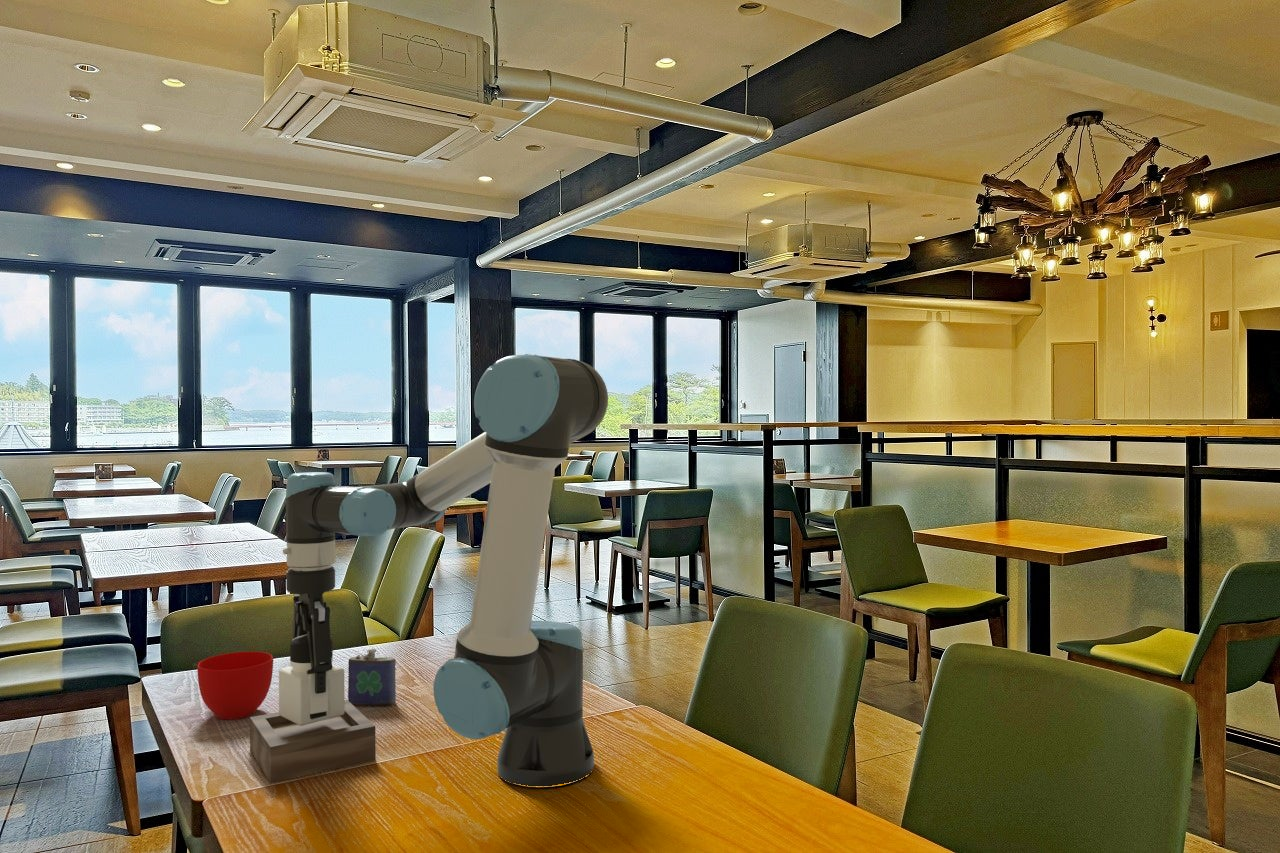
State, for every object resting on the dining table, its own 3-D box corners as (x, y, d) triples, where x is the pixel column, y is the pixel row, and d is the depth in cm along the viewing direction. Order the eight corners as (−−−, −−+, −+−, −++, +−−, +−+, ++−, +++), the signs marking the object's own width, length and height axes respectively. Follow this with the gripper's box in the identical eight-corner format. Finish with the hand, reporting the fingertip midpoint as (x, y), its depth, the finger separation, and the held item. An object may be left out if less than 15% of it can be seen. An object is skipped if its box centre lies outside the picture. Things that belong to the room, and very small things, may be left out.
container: (345, 714, 145) (345, 636, 145) (300, 726, 139) (299, 645, 139) (322, 704, 150) (322, 628, 150) (278, 715, 144) (277, 636, 144)
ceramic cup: (250, 693, 177) (249, 644, 177) (284, 713, 165) (284, 660, 165) (180, 708, 168) (180, 656, 168) (211, 731, 156) (211, 674, 156)
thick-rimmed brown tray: (375, 759, 142) (375, 726, 142) (270, 783, 133) (270, 747, 133) (347, 730, 156) (347, 699, 156) (250, 750, 147) (249, 717, 147)
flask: (397, 702, 171) (397, 647, 171) (392, 707, 168) (392, 651, 168) (350, 701, 172) (350, 647, 172) (345, 706, 169) (344, 651, 169)
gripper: (272, 560, 151) (273, 691, 151) (302, 579, 133) (303, 727, 134) (317, 556, 155) (318, 683, 155) (352, 574, 137) (353, 718, 138)
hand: (311, 703), depth 144 cm, fingers closed on container, 9 cm apart
